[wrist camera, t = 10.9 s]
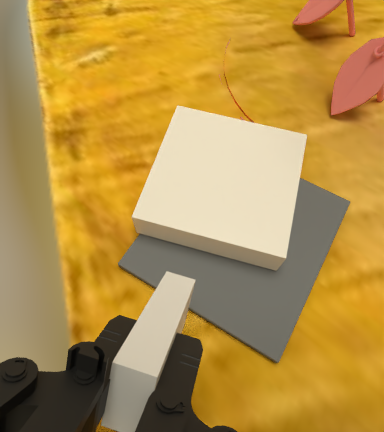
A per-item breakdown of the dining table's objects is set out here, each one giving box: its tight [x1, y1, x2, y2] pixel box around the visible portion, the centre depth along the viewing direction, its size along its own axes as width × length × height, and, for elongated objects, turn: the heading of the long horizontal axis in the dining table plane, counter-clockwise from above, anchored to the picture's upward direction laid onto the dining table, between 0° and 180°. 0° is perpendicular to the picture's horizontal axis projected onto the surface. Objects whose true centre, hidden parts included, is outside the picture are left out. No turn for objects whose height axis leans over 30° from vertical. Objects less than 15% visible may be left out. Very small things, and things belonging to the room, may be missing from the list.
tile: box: [132, 106, 307, 271], centre depth 25 cm, size 10×3×10 cm
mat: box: [118, 178, 350, 363], centre depth 25 cm, size 12×13×1 cm
